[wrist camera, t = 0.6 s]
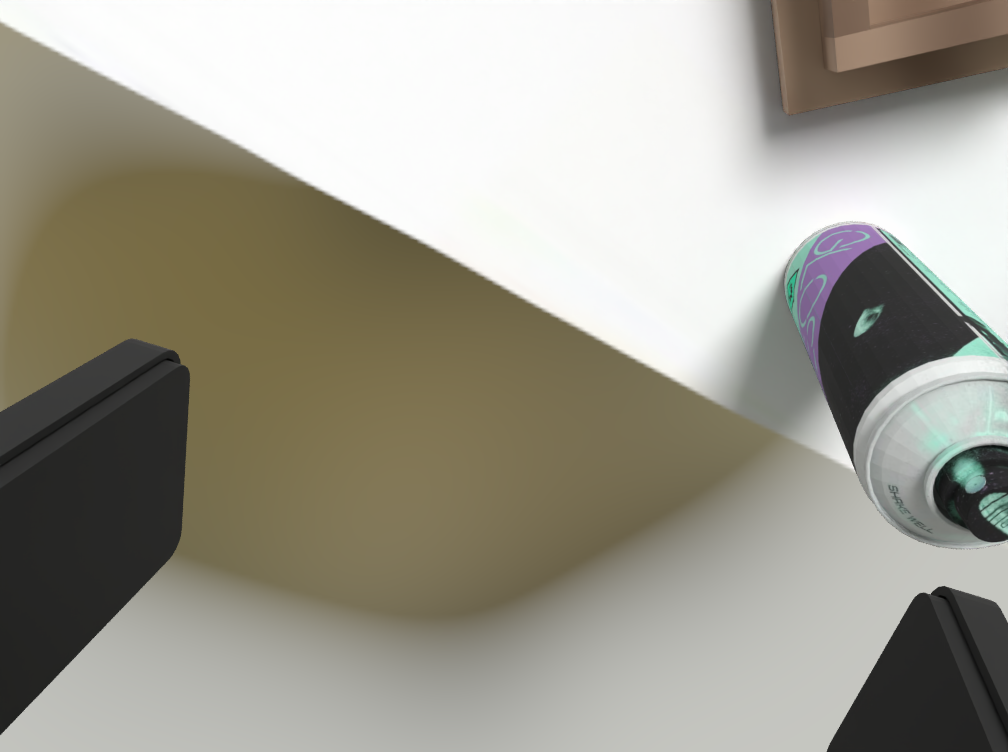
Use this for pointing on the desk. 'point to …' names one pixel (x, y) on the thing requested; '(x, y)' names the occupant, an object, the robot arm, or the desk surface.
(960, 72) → the display stand
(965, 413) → the spray can
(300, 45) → the desk surface
